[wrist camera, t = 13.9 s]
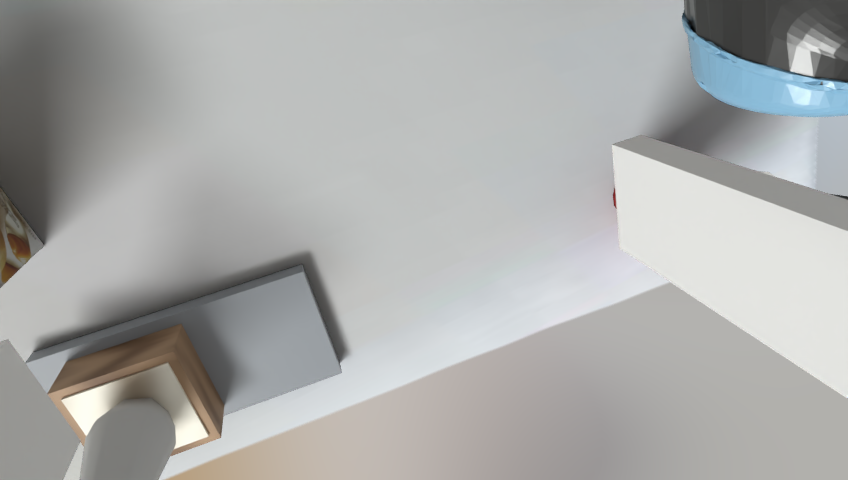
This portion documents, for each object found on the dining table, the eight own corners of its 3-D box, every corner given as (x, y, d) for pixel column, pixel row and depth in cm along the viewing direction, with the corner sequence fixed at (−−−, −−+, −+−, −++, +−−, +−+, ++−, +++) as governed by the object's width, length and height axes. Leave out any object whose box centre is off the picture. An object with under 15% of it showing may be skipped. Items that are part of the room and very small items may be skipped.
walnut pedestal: (181, 323, 43) (173, 352, 39) (224, 405, 46) (220, 439, 43) (65, 362, 41) (45, 396, 38) (120, 443, 45) (106, 481, 41)
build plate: (302, 264, 45) (303, 271, 44) (339, 363, 50) (341, 372, 48) (32, 352, 42) (24, 363, 40) (100, 449, 47) (95, 462, 45)
